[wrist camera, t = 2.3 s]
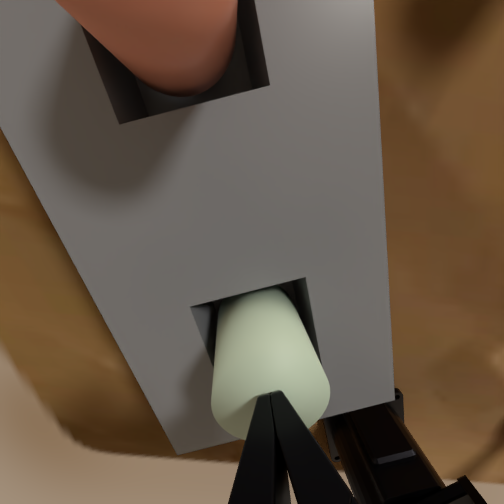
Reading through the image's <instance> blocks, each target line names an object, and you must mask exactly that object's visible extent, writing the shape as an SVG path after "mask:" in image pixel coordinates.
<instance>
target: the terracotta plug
mask: <svg viewBox="0 0 504 504" xmlns="http://www.w3.org/2000/svg"><path fill="white" fill-rule="evenodd" d="M55 1H56V2H57V3H58V4H59V5H60V6H62V7H63V8H64V9H65V10H66V11H67V12H68V13H69V14H70V15H71V16H72V17H73V18H74V19H75V20H76V21H78V22H79V23H80V24H81V25H82V26H83V27H84V28H85V29H86V30H87V31H88V32H89V33H90V34H91V35H93V36H94V37H95V38H96V39H97V40H98V41H99V42H100V43H101V44H102V45H103V46H104V47H105V48H106V49H107V50H109V51H110V52H111V53H112V54H113V55H114V56H115V57H116V58H117V59H118V60H119V61H120V62H121V63H122V64H124V65H125V66H126V67H127V68H128V69H129V70H130V71H131V72H132V73H133V74H134V75H135V76H136V77H137V78H138V79H140V80H141V81H142V82H143V83H144V84H146V85H147V86H148V87H150V88H152V89H153V90H155V91H157V92H160V93H162V94H165V95H169V96H174V97H189V96H194V95H197V94H200V93H202V92H204V91H206V90H208V89H209V88H211V87H212V86H213V85H214V84H216V83H217V82H218V81H219V80H220V78H221V77H222V76H223V74H224V73H225V71H226V69H227V68H228V66H229V64H230V61H231V59H232V56H233V52H234V48H235V42H236V27H237V4H238V0H55Z"/></svg>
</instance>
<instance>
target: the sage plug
mask: <svg viewBox="0 0 504 504" xmlns="http://www.w3.org/2000/svg"><path fill="white" fill-rule="evenodd" d="M279 390H281V391H283V393H284V394H285V396H286V397H287V398H288V400H289V401H290V403H291V404H292V406H293V407H294V409H295V410H296V412H297V413H298V415H299V416H300V418H301V419H302V420H303V422H304V423H305V425H306V426H307V428H310V427H311V426H312V425H313V424H315V423H316V422H317V421H318V420H319V418H320V417H321V416H322V415H323V413H324V411H325V410H326V408H327V405H328V403H329V399H330V385H329V381H328V379H327V377H326V374H325V372H324V370H323V368H322V366H321V363H320V361H319V359H318V357H317V355H316V352H315V350H314V348H313V346H312V343H311V341H310V339H309V337H308V335H307V332H306V330H305V328H304V326H303V324H302V321H301V319H300V317H299V315H298V313H297V310H296V308H295V306H294V304H293V301H292V299H291V297H290V296H289V294H288V293H287V292H286V291H285V290H284V289H283V288H281V287H280V286H278V285H272V286H268V287H265V288H261V289H257V290H253V291H249V292H245V293H241V294H237V295H233V296H230V297H226V298H224V299H223V300H222V302H221V304H220V307H219V312H218V324H217V336H216V348H215V360H214V372H213V384H212V396H211V408H212V412H213V416H214V417H215V419H216V421H217V422H218V424H219V425H220V426H221V427H222V428H223V429H224V430H225V431H227V432H228V433H229V434H231V435H233V436H235V437H237V438H240V439H243V440H246V437H247V433H248V429H249V426H250V422H251V419H252V415H253V411H254V408H255V404H256V401H257V398H258V396H260V395H264V394H271V393H272V392H276V391H279Z"/></svg>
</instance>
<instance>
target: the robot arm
mask: <svg viewBox="0 0 504 504" xmlns="http://www.w3.org/2000/svg"><path fill="white" fill-rule="evenodd" d="M394 391H395V400H393V401H389V402H385V403H381V404H377V405H374V406H370V407H366V408H362V409H358V410H354V411H350V412H346V413H342V414H338V415H334V416H330V417H326V418H323V422H324V427H325V432H326V437H327V442H328V447H329V452H330V456H331V459H332V461H334V462H339V461H341V463H342V465H343V468H344V471H345V474H346V476H347V479H348V482H349V484H350V487H351V490H352V492H353V494H352V492H351V491H350V489H349V488H348V486H347V485H346V483H345V482H344V481H343V479H342V478H341V476H340V475H339V473H338V472H337V470H336V469H335V467H334V466H333V464H332V463H331V461H330V460H329V459H328V457H327V456H326V454H325V453H324V451H323V450H322V448H321V447H320V445H319V444H318V442H317V441H316V440H315V438H314V437H313V435H312V434H311V432H310V431H309V429H308V428H307V426H306V425H305V423H304V422H303V420H302V419H301V418H300V416H299V415H298V413H297V412H296V410H295V409H294V407H293V406H292V404H291V403H290V401H289V400H288V398H287V397H286V396H285V394H284V393H283V391H281V390H279V391H276V392H272V393H271V394H264V395H260V396H258V398H257V401H256V404H255V408H254V411H253V415H252V419H251V422H250V426H249V429H248V433H247V437H246V440H245V444H244V447H243V451H242V455H241V458H240V462H239V466H238V469H237V473H236V477H235V480H234V484H233V488H232V491H231V495H230V498H229V502H228V504H291V500H290V490H289V481H288V474H289V477H290V480H291V484H292V487H293V490H294V493H295V497H296V500H297V503H298V504H487V503H486V501H485V500H484V499H483V498H482V496H481V495H480V494H479V493H478V491H477V490H476V489H475V487H474V486H473V485H472V483H471V482H470V481H469V479H468V478H467V477H466V476H465V475H464V476H462V477H460V478H458V479H457V480H458V481H457V482H455V483H453V484H451V485H449V486H447V487H446V486H445V484H444V483H443V481H442V480H441V478H440V477H439V475H438V474H437V472H436V471H435V469H434V468H433V466H432V465H431V463H430V462H429V460H428V459H427V457H426V456H425V454H424V453H423V451H422V450H421V448H420V447H419V445H418V444H417V442H416V441H415V439H414V438H413V436H412V435H411V433H410V432H409V430H408V429H407V427H406V426H405V424H404V406H403V394H402V393H401V391H400V390H399V389H397V388H394ZM287 471H288V473H287ZM353 495H354V497H353Z"/></svg>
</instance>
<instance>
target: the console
mask: <svg viewBox="0 0 504 504" xmlns="http://www.w3.org/2000/svg"><path fill="white" fill-rule="evenodd" d="M0 127H1V129H2V131H3V133H4V135H5V137H6V138H7V140H8V142H9V144H10V146H11V148H12V150H13V151H14V153H15V155H16V157H17V159H18V161H19V163H20V164H21V166H22V168H23V170H24V172H25V174H26V176H27V177H28V179H29V181H30V183H31V185H32V187H33V189H34V190H35V192H36V194H37V196H38V198H39V200H40V201H41V203H42V205H43V207H44V209H45V211H46V213H47V214H48V216H49V218H50V220H51V222H52V224H53V226H54V227H55V229H56V231H57V233H58V235H59V237H60V239H61V240H62V242H63V244H64V246H65V248H66V250H67V251H68V253H69V255H70V257H71V259H72V261H73V263H74V264H75V266H76V268H77V270H78V272H79V274H80V276H81V277H82V279H83V281H84V283H85V285H86V287H87V289H88V290H89V292H90V294H91V296H92V298H93V300H94V302H95V303H96V305H97V307H98V309H99V311H100V313H101V314H102V316H103V318H104V320H105V322H106V324H107V326H108V327H109V329H110V331H111V333H112V335H113V337H114V339H115V340H116V342H117V344H118V346H119V348H120V350H121V352H122V353H123V355H124V357H125V359H126V361H127V363H128V365H129V366H130V368H131V370H132V372H133V374H134V376H135V377H136V379H137V381H138V383H139V385H140V387H141V389H142V390H143V392H144V394H145V396H146V398H147V400H148V402H149V403H150V405H151V407H152V409H153V411H154V413H155V415H156V416H157V418H158V420H159V422H160V424H161V426H162V427H163V429H164V431H165V433H166V435H167V437H168V439H169V440H170V442H171V444H172V446H173V448H174V450H175V452H176V453H177V455H180V454H184V453H188V452H192V451H196V450H200V449H204V448H208V447H212V446H216V445H220V444H224V443H228V442H232V441H236V440H240V438H237V437H235V436H233V435H231V434H229V433H228V432H227V431H225V430H224V429H223V428H222V427H221V426H220V425H219V424H218V422H217V421H216V419H215V417H214V416H213V412H212V408H211V396H212V384H213V372H214V360H215V348H216V336H217V324H218V312H219V307H220V304H221V302H222V300H223V299H224V298H226V297H230V296H233V295H237V294H241V293H245V292H249V291H253V290H257V289H261V288H265V287H268V286H272V285H278V286H280V287H281V288H283V289H284V290H285V291H286V292H287V293H288V294H289V296H290V297H291V299H292V301H293V304H294V306H295V308H296V310H297V313H298V315H299V317H300V319H301V321H302V324H303V326H304V328H305V330H306V332H307V335H308V337H309V339H310V341H311V343H312V346H313V348H314V350H315V352H316V355H317V357H318V359H319V361H320V363H321V366H322V368H323V370H324V372H325V374H326V377H327V379H328V381H329V385H330V399H329V403H328V405H327V408H326V410H325V411H324V413H323V415H322V416H321V417H320V418H319V419H322V418H326V417H330V416H334V415H338V414H342V413H346V412H350V411H354V410H358V409H362V408H366V407H370V406H374V405H377V404H381V403H385V402H389V401H393V400H395V391H394V373H393V354H392V335H391V317H390V298H389V280H388V261H387V242H386V224H385V205H384V187H383V168H382V149H381V131H380V112H379V93H378V75H377V56H376V38H375V19H374V0H238V4H237V27H236V42H235V48H234V52H233V56H232V59H231V61H230V64H229V66H228V68H227V69H226V71H225V73H224V74H223V76H222V77H221V78H220V80H219V81H218V82H217V83H216V84H214V85H213V86H212V87H211V88H209V89H208V90H206V91H204V92H202V93H200V94H197V95H194V96H189V97H174V96H169V95H165V94H162V93H160V92H157V91H155V90H153V89H152V88H150V87H148V86H147V85H146V84H144V83H143V82H142V81H141V80H140V79H138V78H137V77H136V76H135V75H134V74H133V73H132V72H131V71H130V70H129V69H128V68H127V67H126V66H125V65H124V64H122V63H121V62H120V61H119V60H118V59H117V58H116V57H115V56H114V55H113V54H112V53H111V52H110V51H109V50H107V49H106V48H105V47H104V46H103V45H102V44H101V43H100V42H99V41H98V40H97V39H96V38H95V37H94V36H93V35H91V34H90V33H89V32H88V31H87V30H86V29H85V28H84V27H83V26H82V25H81V24H80V23H79V22H78V21H76V20H75V19H74V18H73V17H72V16H71V15H70V14H69V13H68V12H67V11H66V10H65V9H64V8H63V7H62V6H60V5H59V4H58V3H57V2H56V1H55V0H0Z"/></svg>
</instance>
